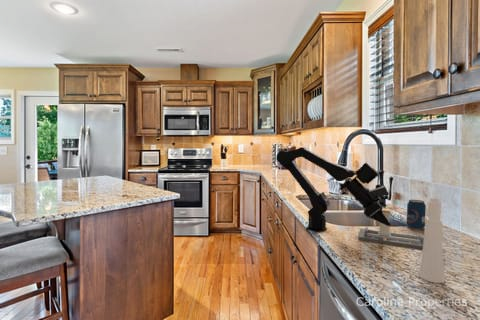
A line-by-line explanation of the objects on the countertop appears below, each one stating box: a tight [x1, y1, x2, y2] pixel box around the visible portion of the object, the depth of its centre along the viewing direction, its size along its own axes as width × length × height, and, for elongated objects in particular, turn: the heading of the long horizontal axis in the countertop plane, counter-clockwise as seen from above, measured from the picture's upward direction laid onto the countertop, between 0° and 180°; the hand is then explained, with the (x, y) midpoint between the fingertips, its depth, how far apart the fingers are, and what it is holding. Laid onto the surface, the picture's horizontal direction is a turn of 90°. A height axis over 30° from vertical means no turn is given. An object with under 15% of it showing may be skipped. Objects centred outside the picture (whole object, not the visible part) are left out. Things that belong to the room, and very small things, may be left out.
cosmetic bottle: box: [417, 196, 446, 284], centre depth 74 cm, size 6×6×22 cm
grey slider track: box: [358, 227, 424, 250], centre depth 104 cm, size 24×12×3 cm, turn 63°
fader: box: [378, 207, 391, 236], centre depth 105 cm, size 4×4×10 cm
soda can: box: [406, 199, 427, 230], centre depth 121 cm, size 7×7×12 cm
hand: (389, 222), depth 105 cm, fingers open, 9 cm apart
